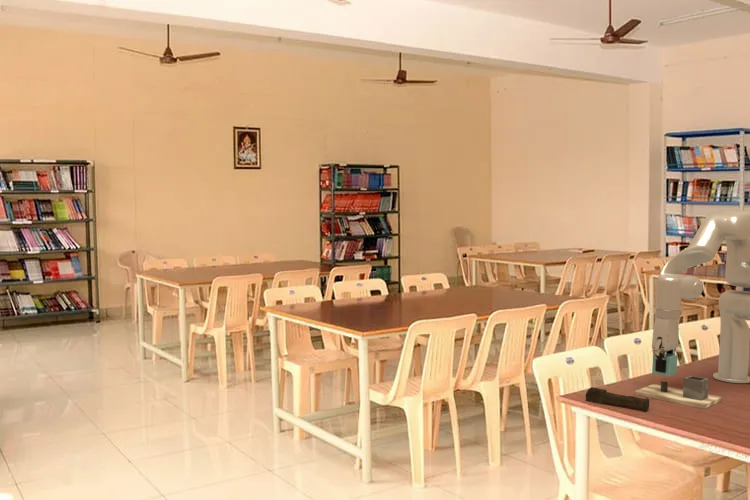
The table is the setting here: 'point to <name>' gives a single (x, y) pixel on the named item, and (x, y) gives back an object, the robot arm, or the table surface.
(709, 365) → the table surface
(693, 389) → the seat plate
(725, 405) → the table surface
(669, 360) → the teal wall cubby
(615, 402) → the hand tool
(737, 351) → the robot arm
